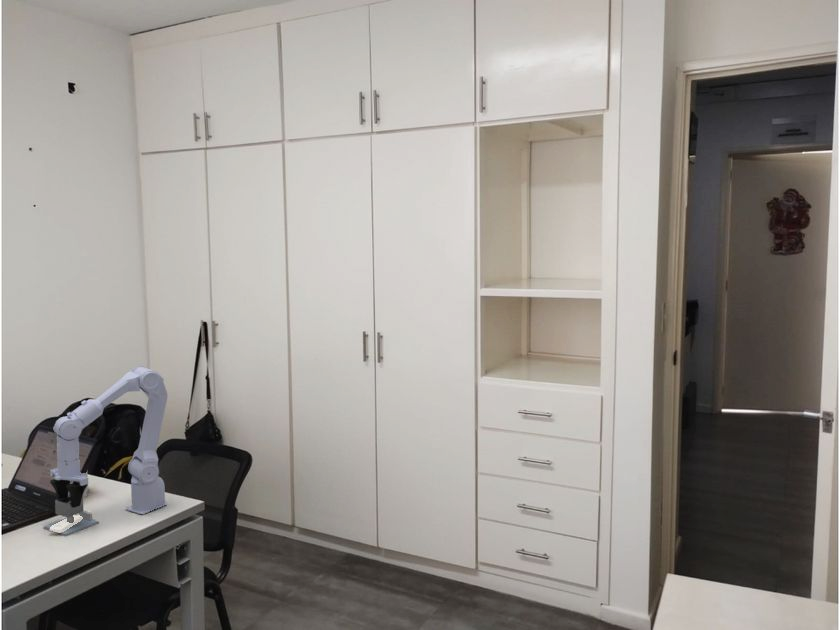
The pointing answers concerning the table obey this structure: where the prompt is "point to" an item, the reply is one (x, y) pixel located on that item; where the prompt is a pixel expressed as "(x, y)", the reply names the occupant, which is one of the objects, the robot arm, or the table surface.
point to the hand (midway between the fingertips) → (69, 504)
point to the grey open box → (67, 507)
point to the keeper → (81, 525)
